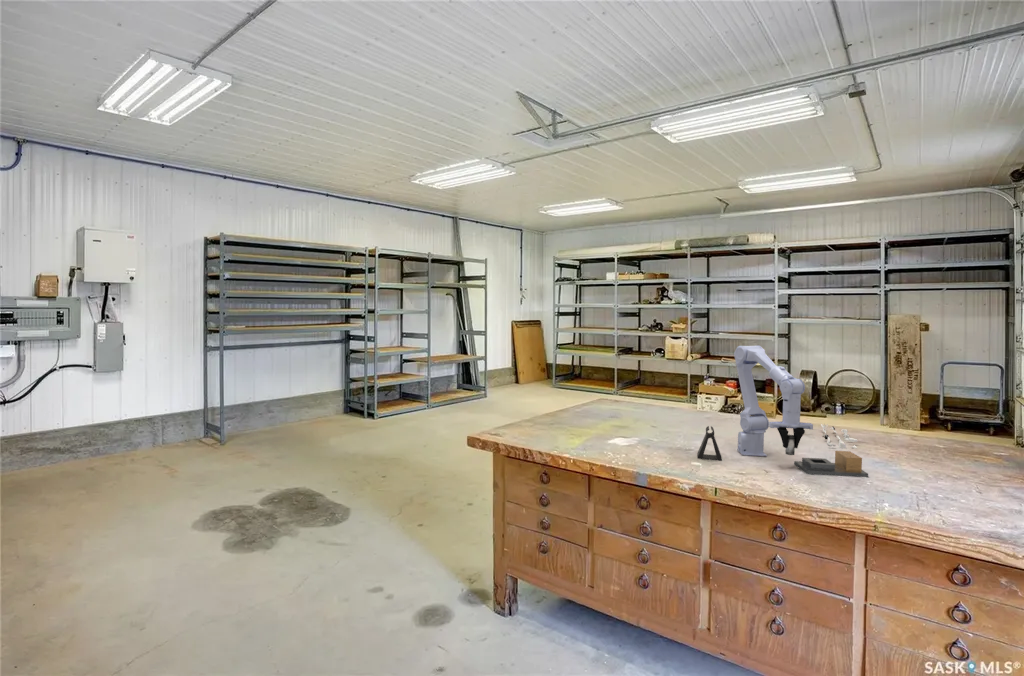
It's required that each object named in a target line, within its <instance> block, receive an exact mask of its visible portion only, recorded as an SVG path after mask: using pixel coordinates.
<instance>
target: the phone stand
mask: <svg viewBox="0 0 1024 676" xmlns="http://www.w3.org/2000/svg"><path fill="white" fill-rule="evenodd" d="M710 429H711V432H708V431H710ZM709 439H711V440H712V443H713V448H714V449H713V450H714V452H715V454H705V451H706V447H707V445H708V442H709ZM696 454H697V456H696V457H697V459H698V460H710V461H723V458H722V454H721V451H720V449H719V445H718V443H717V440H716V438H715V429H714V427H713V426H712V425H711V426H710V427H709V425H708V426H706V428H705V435H704V436H703V439H702V442H701V444H700V447H699V449H698V451H697V453H696Z"/></svg>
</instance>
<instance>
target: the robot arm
mask: <svg viewBox="0 0 1024 676" xmlns="http://www.w3.org/2000/svg"><path fill="white" fill-rule="evenodd" d="M733 355H734V360H735V361H734V362H735V366H736V372H737V375H738V381H739V385H740V392H741V395H742V396H741V397H742V401H743V406H744V409H743V410H742V411H741V413H740V414H739V416H740V419H739V420H740V421H739V424H740V428H741V429H742V431H738V434H737V450H736V451H738V453H739V454H740V455H741V456H751V457H752V456H754V457H755V456H756V457H757V456H758V457H767V456H768V454H766V453H765V452H764V449H765V447H764V445H765V443H764V442H765V433H766V431H767V430H768V429H769V428H770V429H776V430H777V432H778V433H779V436H780V439H781V442H782V447H783V448H784V449H786V448H787V437H788V435H789V431H788V429H792V431H793V433H792V434H793V435H795V449H798V448H799V444H800V441H801V439H802V437H803V436H804V434H805V433H806V430H814V424H813V423H810V422H801V402H802V401H801V399H802V394H803V393H805V391H806V386H805V383H804V381H803V380H802V379H801V378H796V377H794V376H793V375H792V374H791V373H790V372H788V371H787V370H786V367H784V366H781V365H776V364H775V363H774V362H773V360H772V359H771V358H770V357H769V356H768V355H767V353H766V349H764V348H763V347H762V346H761V345H759V344H758V345H738V346H737V347H736V348H735V350H734V353H733ZM757 364H759V365H761V367H762V368H764V369H765V370H766V371H767V372H769V377H770V378H771V379H772V380H773V382H775V383H776V384H777V385H778V386H779V390H780V392H781V398H782V400H783V401H782V419H781V420H782V421H769V419H768V416H767V414H766V411H765V410H763V409H762V408H761V407H760V404H759V400H758V397H757V396H758V394H757V391H756V386H755V385H756V384H755V381H754V377H753V371H752V370H753V368H754V367H755V366H756V365H757Z"/></svg>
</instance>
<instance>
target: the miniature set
mask: <svg viewBox="0 0 1024 676" xmlns="http://www.w3.org/2000/svg"><path fill="white" fill-rule="evenodd" d="M820 427H821V428H822V435H821V436H822V437H823V436H824V437H823V438H824V440H826V444H827V446H829V447H836V446H837V447H838V448H839V449H846V448H847V445H846V444H845V442H844V441H846V442H850V443H857V442H859V440H858V439H857V438H853V437H850V435H849V434H848V432H849V431H848V429H843V428H842V429H840V430H841V433H843V435H842V436H843V440H841V437H840V436H839V435H838V432H837V430H836V428H835V427H834V426H832V427H829V428H830V430H832V431H833V432H834V433H835V434H836V436H835V437H836V438H837V439H838V443H837V445H836V444H834V443H831V438H830V435H829V434H827V429H828V423H827V424H825V423H824V424H822V423H821V424H820ZM823 433H824V434H823ZM850 448H851V449H858V447H857V446H856V445H855V444H853V446H850Z"/></svg>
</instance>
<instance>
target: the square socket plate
mask: <svg viewBox="0 0 1024 676" xmlns="http://www.w3.org/2000/svg"><path fill="white" fill-rule="evenodd" d="M834 451H835V452H834V453H835V456H834V462H831V461H830V460H828V459H827V458H823V457H822V458H817V457H815V458H814V457H802V458H801V461H799V460H797V461H796V460H795V461H793V464H794V465H795V466H796V467H797V468H798V469H800V470H801V471H802V472H804V473H805V474H806V475H818V476H819V475H820V476H836V477H837V476H840V477H841V476H842V477H857V478H858V477H861V478H862V477H863V478H865V477H866V478H869V473H868V472H866V471H865V470H863V469H862V468H863V466H862V465H863V458H862V457H860V456H859V455H857V454H855V453H853V451H849V450H848V451H847V450H834Z"/></svg>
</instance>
